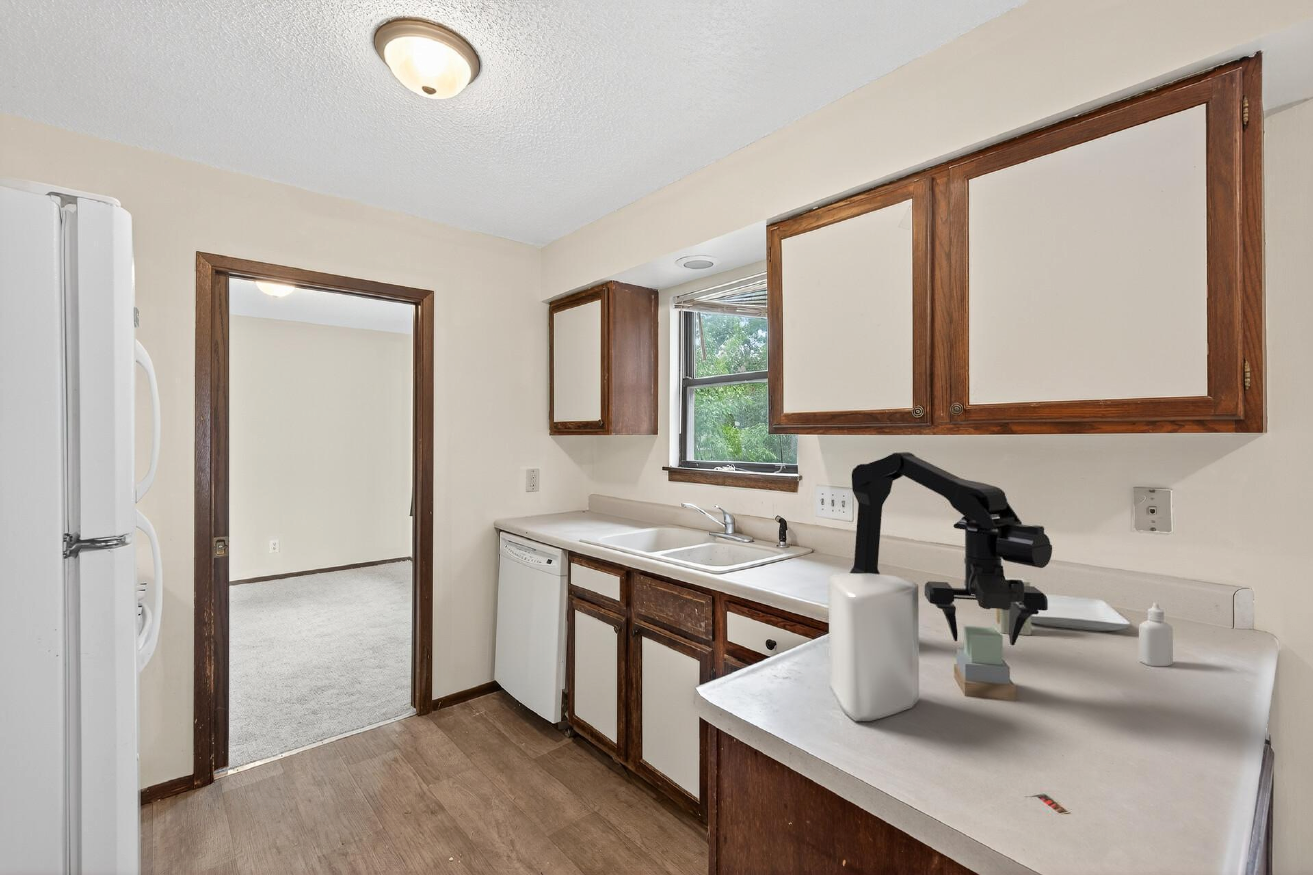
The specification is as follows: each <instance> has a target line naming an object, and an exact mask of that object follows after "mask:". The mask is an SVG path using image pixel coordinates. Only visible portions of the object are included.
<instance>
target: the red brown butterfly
mask: <svg viewBox="0 0 1313 875" xmlns="http://www.w3.org/2000/svg"><path fill="white" fill-rule="evenodd" d="M1035 797H1036V798H1037V799H1039V800H1040V801H1042V802H1043V803H1044V804H1046V805H1047V806H1048V807H1050V808H1051V809H1052V810H1053V811H1054V810H1055V811H1056V812H1057V813H1056V815H1059V814H1060V815H1064V814H1068V813H1070V811H1069V810H1068V809H1067V808H1066V807H1065V806H1063V805H1062V804H1061V803H1059V800H1058V799H1054V798H1052V797H1051V796H1050V795H1048V794H1046V793H1041V794H1040V793H1039V794H1035V795H1034V794H1033V795H1031V796H1029V798H1035ZM1024 798H1028V796H1024ZM1019 803H1022V801H1020V802H1019ZM1027 808H1028V806H1027Z"/></svg>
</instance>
